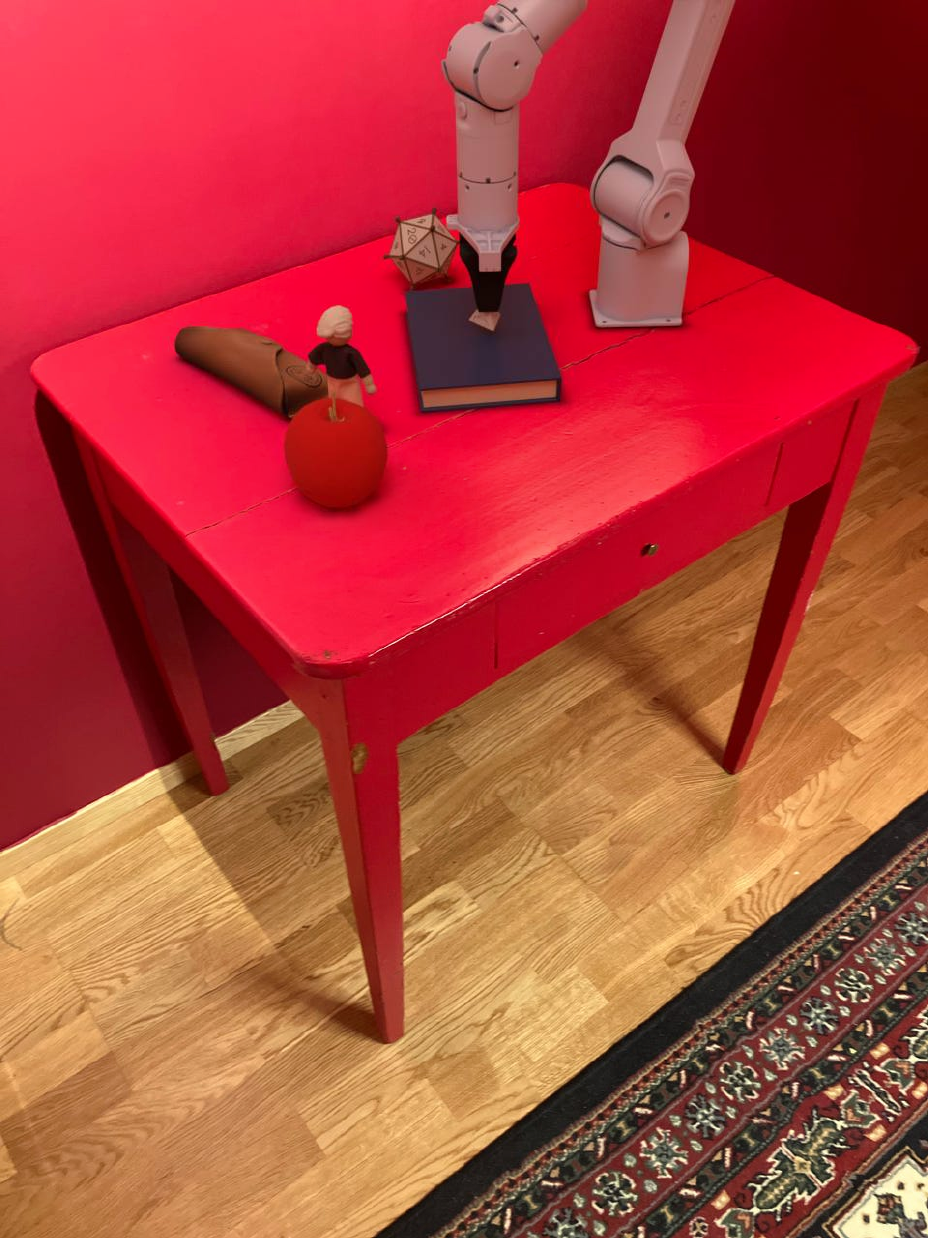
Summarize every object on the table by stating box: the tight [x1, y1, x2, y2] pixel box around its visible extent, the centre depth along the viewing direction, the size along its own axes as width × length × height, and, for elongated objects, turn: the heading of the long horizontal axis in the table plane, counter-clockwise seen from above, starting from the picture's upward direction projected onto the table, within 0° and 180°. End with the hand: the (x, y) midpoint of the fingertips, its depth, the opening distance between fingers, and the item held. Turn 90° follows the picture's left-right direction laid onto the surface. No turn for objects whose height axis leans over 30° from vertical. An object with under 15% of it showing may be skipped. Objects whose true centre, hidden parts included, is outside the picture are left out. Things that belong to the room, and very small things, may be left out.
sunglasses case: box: [173, 325, 329, 420], centre depth 105 cm, size 18×7×7 cm
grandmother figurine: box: [306, 305, 378, 408], centre depth 95 cm, size 8×4×13 cm, turn 71°
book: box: [404, 282, 563, 414], centre depth 108 cm, size 14×20×3 cm
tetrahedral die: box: [469, 309, 500, 331], centre depth 106 cm, size 4×3×3 cm
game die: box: [381, 205, 460, 291], centre depth 118 cm, size 9×8×10 cm
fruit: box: [283, 390, 389, 508], centre depth 89 cm, size 9×9×10 cm
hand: (487, 306), depth 105 cm, fingers closed on tetrahedral die
